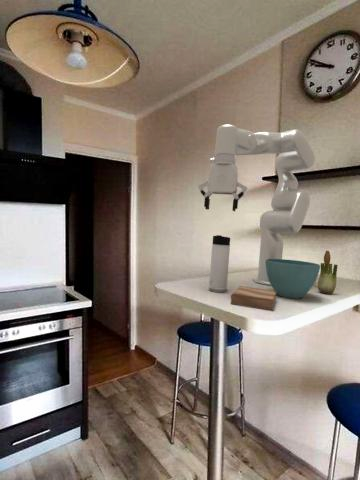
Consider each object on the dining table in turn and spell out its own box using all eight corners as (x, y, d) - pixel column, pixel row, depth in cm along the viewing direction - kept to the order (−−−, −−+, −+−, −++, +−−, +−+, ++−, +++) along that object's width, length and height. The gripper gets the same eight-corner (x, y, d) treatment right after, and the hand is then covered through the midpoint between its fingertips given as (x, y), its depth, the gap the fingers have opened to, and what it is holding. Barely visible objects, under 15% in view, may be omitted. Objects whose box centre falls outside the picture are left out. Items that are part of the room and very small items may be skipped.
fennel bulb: (336, 294, 111) (339, 263, 111) (331, 295, 108) (334, 264, 107) (320, 291, 115) (323, 261, 115) (315, 292, 112) (318, 262, 112)
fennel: (323, 289, 120) (326, 251, 120) (310, 284, 128) (313, 249, 128) (340, 289, 122) (343, 252, 121) (326, 285, 130) (329, 250, 129)
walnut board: (239, 294, 99) (240, 285, 99) (275, 300, 95) (276, 290, 95) (230, 303, 86) (231, 293, 86) (272, 310, 82) (273, 299, 82)
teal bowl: (268, 287, 116) (270, 257, 115) (318, 295, 107) (321, 262, 107) (258, 295, 100) (261, 260, 99) (316, 305, 91) (319, 267, 91)
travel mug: (205, 290, 102) (210, 234, 101) (212, 287, 108) (216, 234, 107) (222, 293, 99) (227, 235, 98) (228, 290, 105) (232, 235, 104)
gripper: (198, 158, 101) (194, 207, 101) (248, 159, 96) (244, 210, 96) (203, 164, 108) (199, 209, 109) (250, 164, 103) (245, 212, 103)
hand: (220, 210), depth 102 cm, fingers open, 9 cm apart
